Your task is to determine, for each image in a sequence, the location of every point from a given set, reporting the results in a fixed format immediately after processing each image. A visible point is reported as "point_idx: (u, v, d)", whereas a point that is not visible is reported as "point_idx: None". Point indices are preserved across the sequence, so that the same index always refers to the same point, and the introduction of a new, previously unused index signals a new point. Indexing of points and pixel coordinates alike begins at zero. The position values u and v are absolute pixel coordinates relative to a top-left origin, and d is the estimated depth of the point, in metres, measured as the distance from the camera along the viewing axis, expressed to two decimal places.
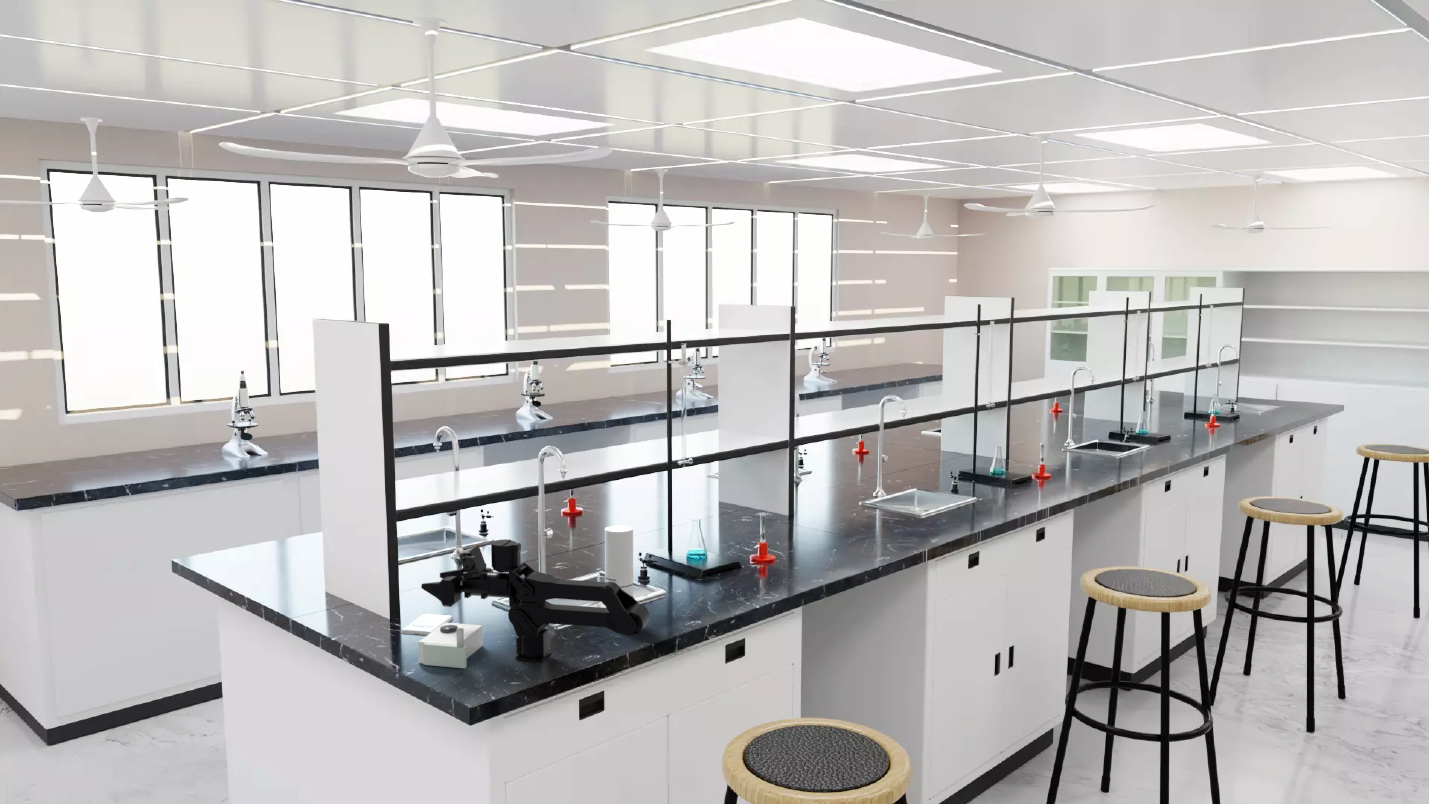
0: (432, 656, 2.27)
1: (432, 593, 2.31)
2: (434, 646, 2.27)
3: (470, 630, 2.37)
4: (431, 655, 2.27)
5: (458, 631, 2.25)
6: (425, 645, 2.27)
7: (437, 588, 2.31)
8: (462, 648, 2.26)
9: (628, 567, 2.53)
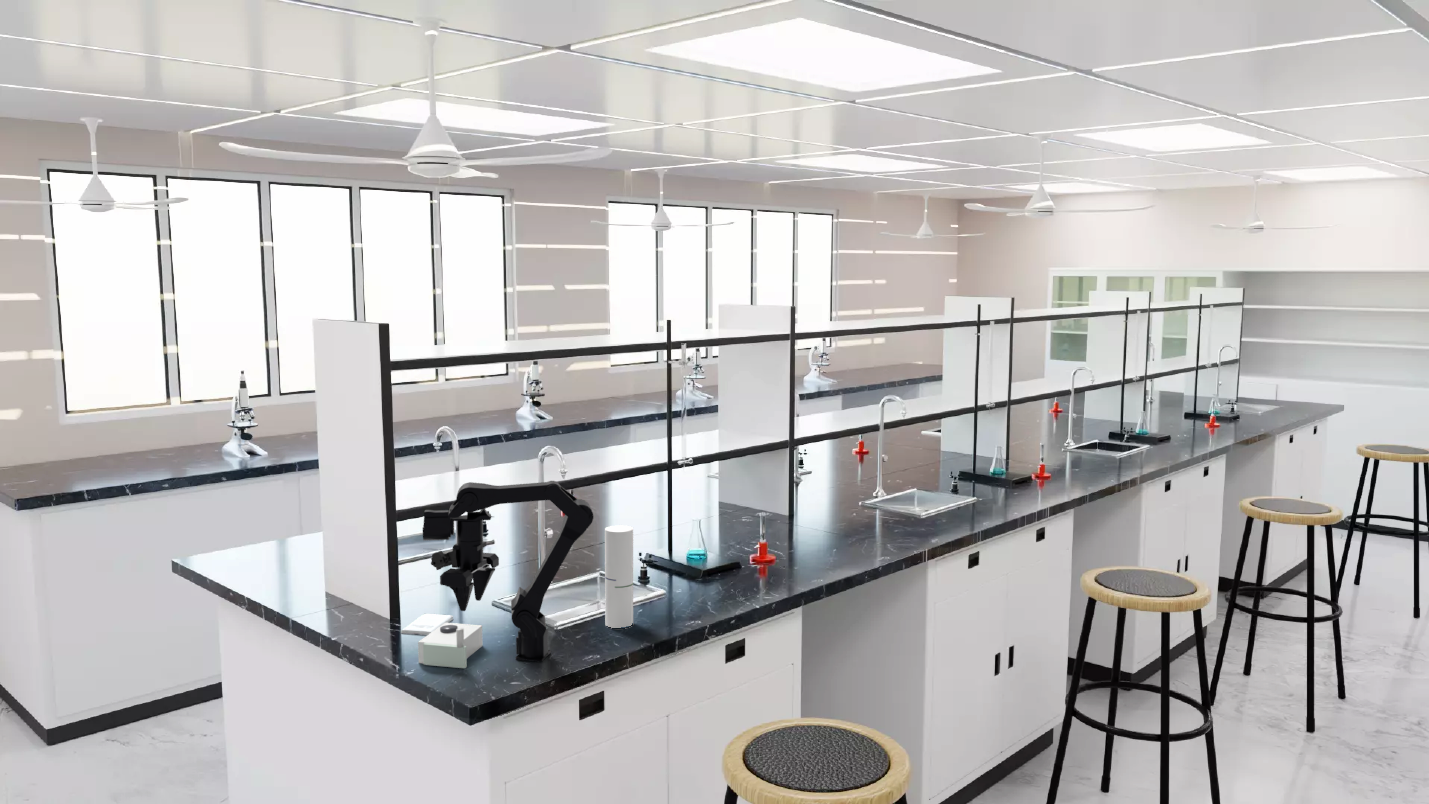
0: (432, 656, 2.27)
1: (465, 598, 2.25)
2: (434, 646, 2.27)
3: (470, 630, 2.37)
4: (431, 655, 2.27)
5: (458, 631, 2.25)
6: (425, 645, 2.27)
7: (460, 592, 2.25)
8: (462, 648, 2.26)
9: (628, 567, 2.53)
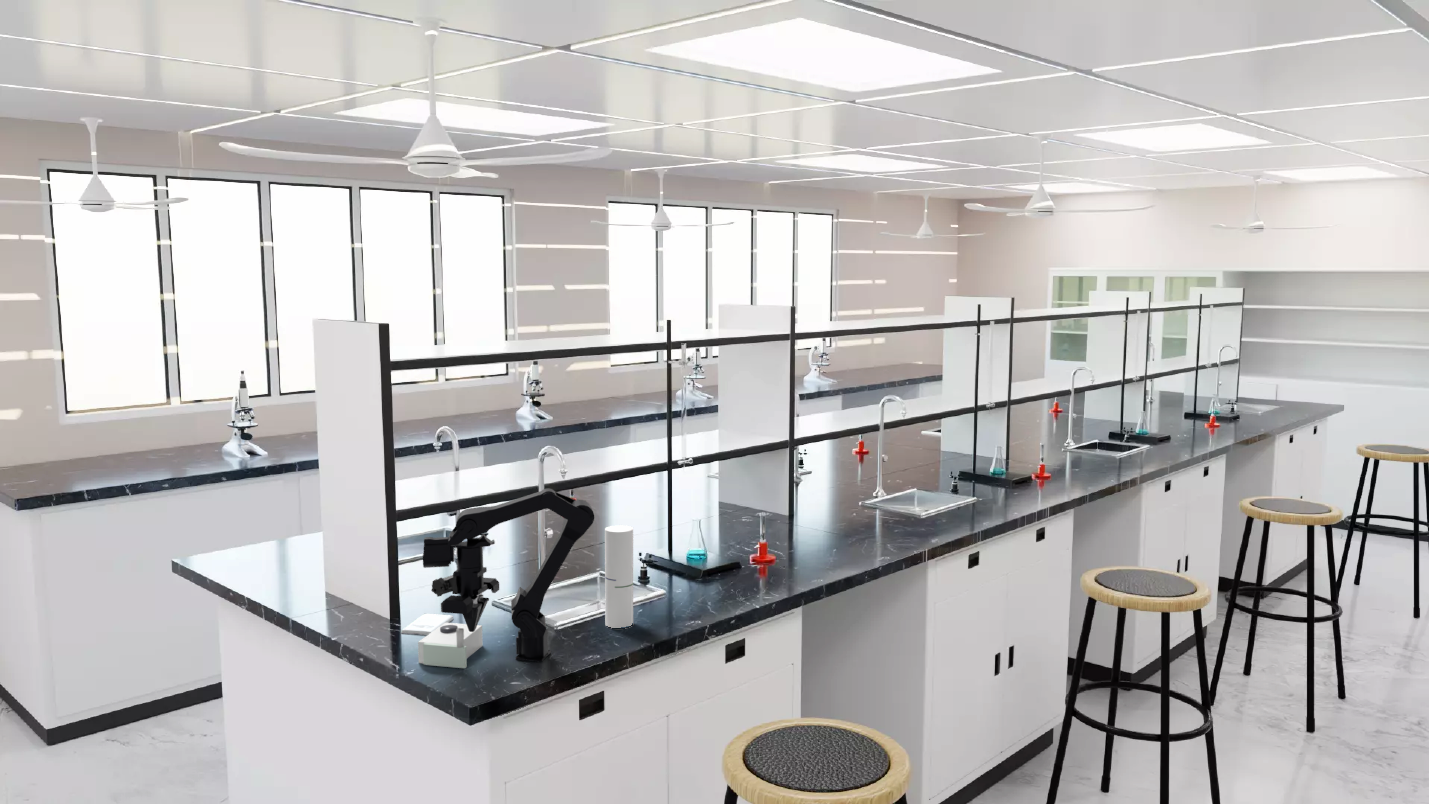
0: (432, 656, 2.27)
1: (474, 620, 2.29)
2: (434, 646, 2.27)
3: None
4: (431, 655, 2.27)
5: (458, 631, 2.25)
6: (425, 645, 2.27)
7: (468, 614, 2.29)
8: (462, 648, 2.26)
9: (628, 567, 2.53)
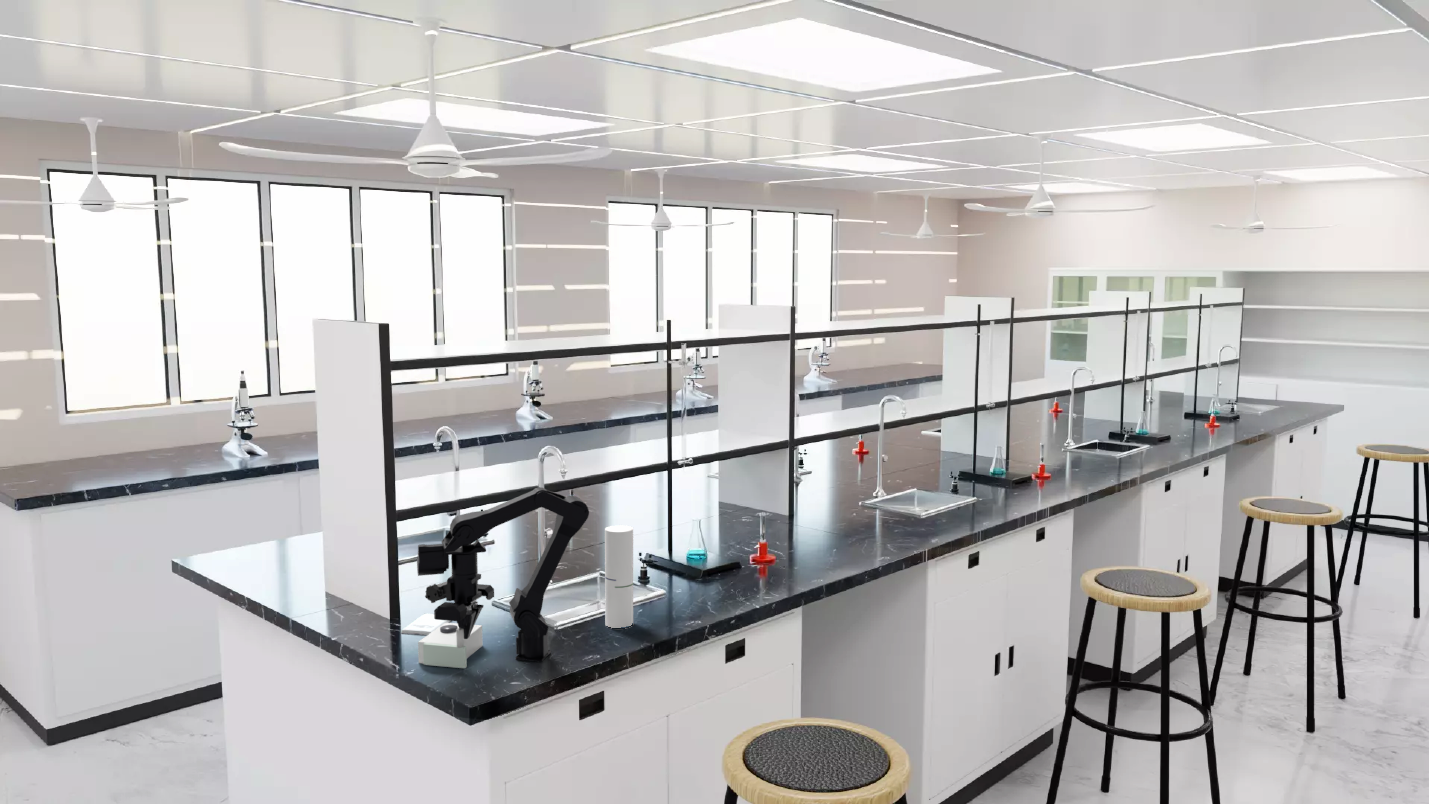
0: (432, 656, 2.27)
1: (468, 627, 2.27)
2: (434, 646, 2.27)
3: None
4: (431, 655, 2.27)
5: (458, 631, 2.25)
6: (425, 645, 2.27)
7: (462, 621, 2.27)
8: (462, 648, 2.26)
9: (628, 567, 2.53)
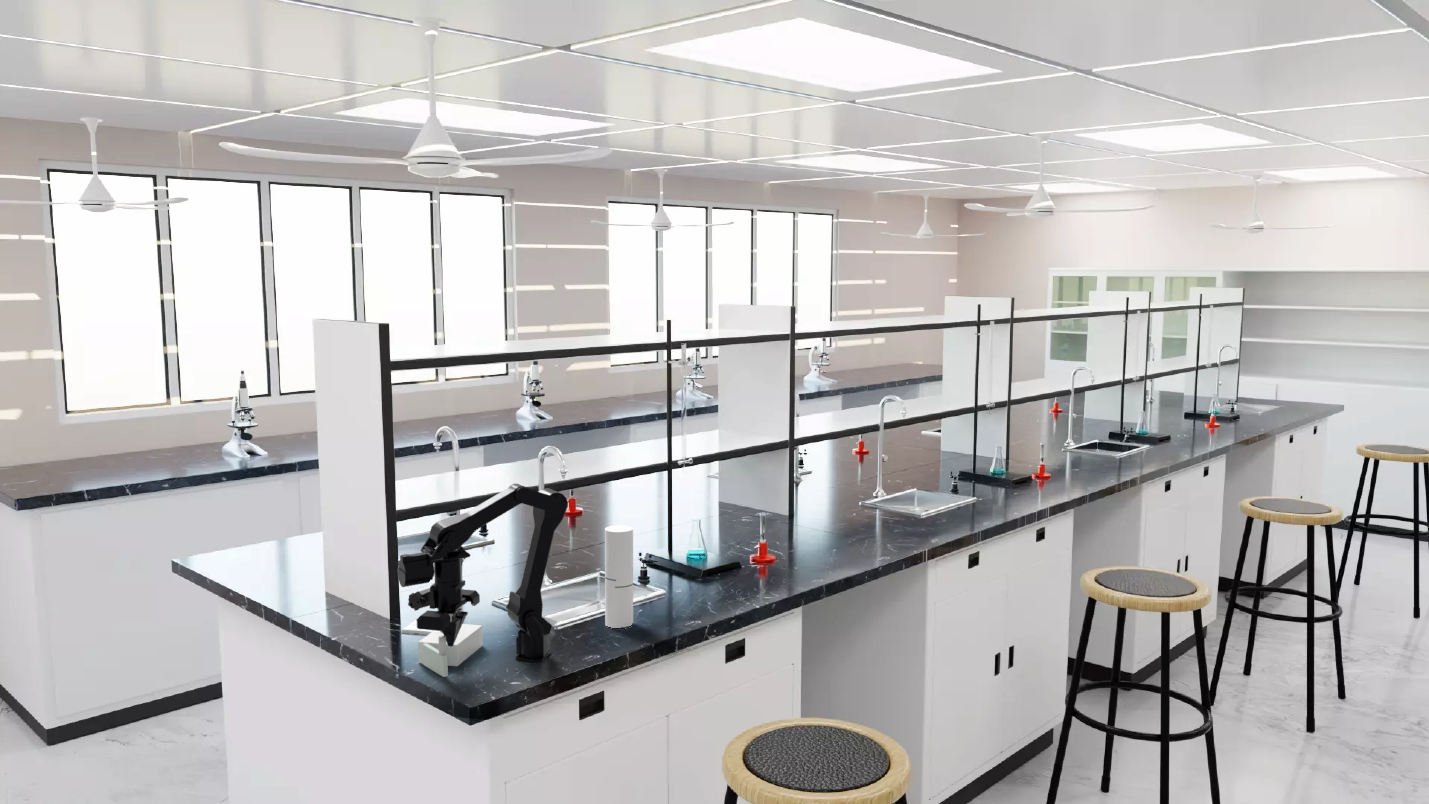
0: (427, 658, 2.26)
1: (452, 634, 2.22)
2: (427, 648, 2.26)
3: (470, 630, 2.37)
4: (426, 656, 2.27)
5: (439, 638, 2.21)
6: (423, 645, 2.27)
7: (447, 628, 2.22)
8: (442, 656, 2.21)
9: (628, 567, 2.53)
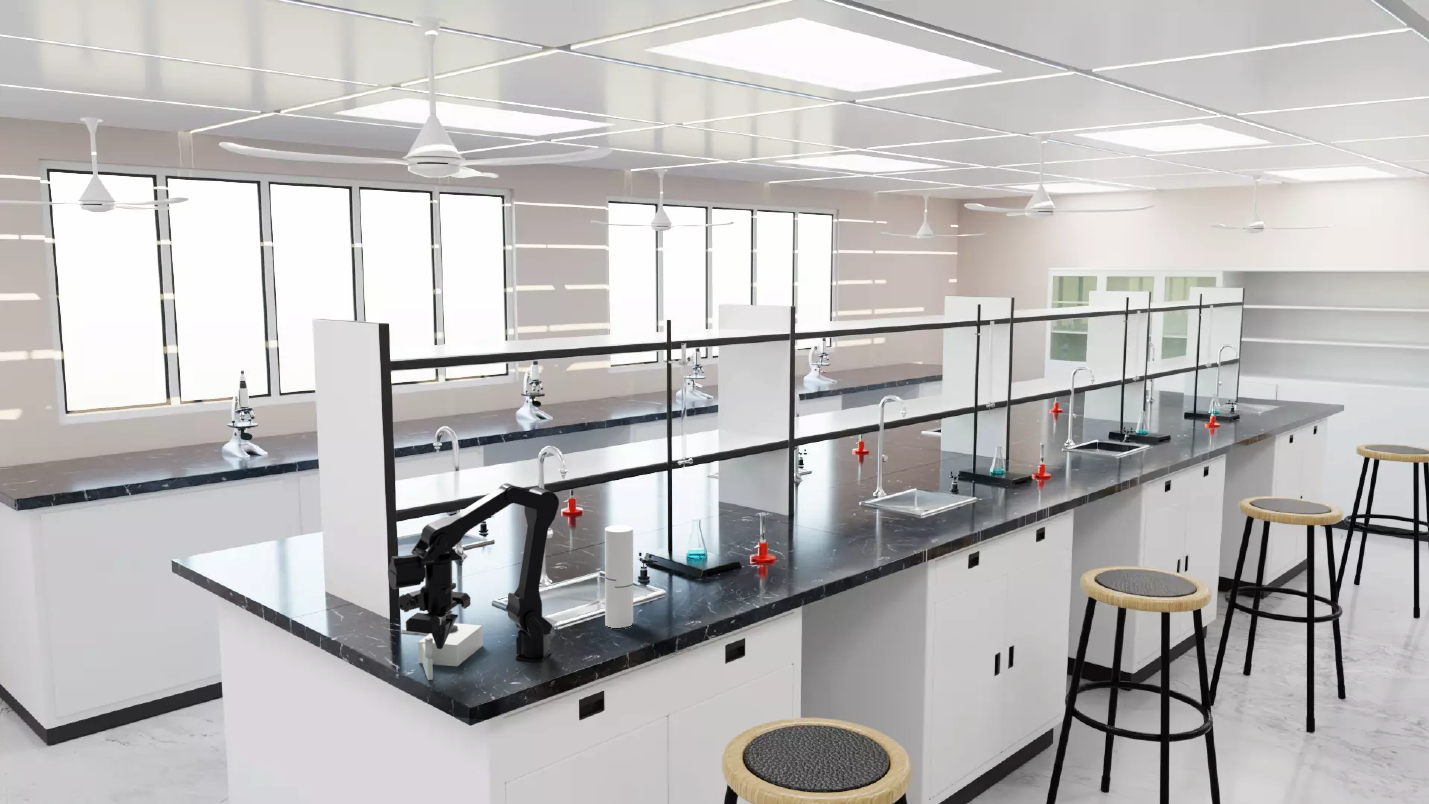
0: (423, 658, 2.26)
1: (442, 637, 2.20)
2: (423, 649, 2.25)
3: (470, 630, 2.37)
4: (423, 657, 2.26)
5: (425, 640, 2.19)
6: (422, 645, 2.27)
7: (436, 631, 2.20)
8: (427, 659, 2.19)
9: (628, 567, 2.53)
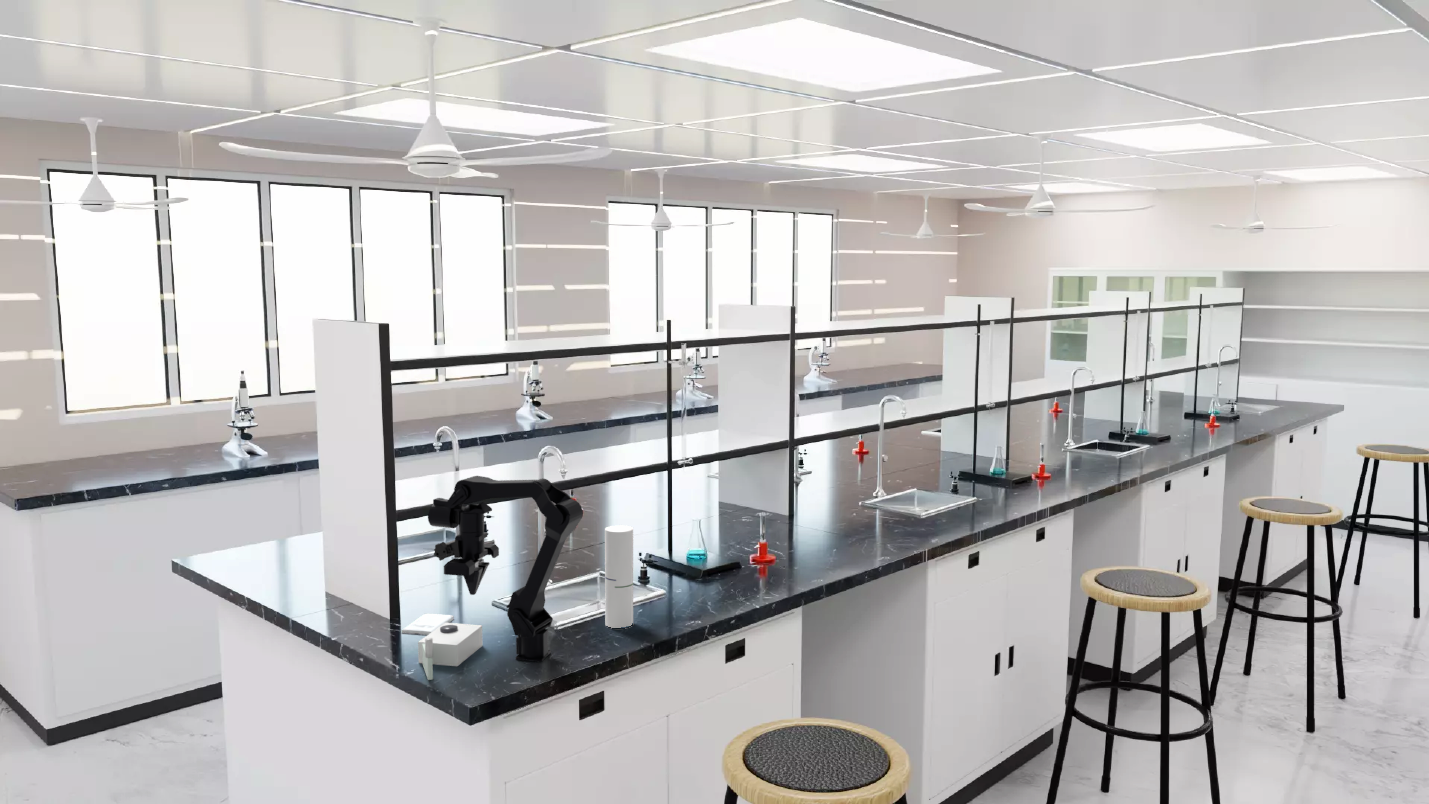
0: (423, 658, 2.26)
1: (475, 583, 2.37)
2: (423, 649, 2.25)
3: (470, 630, 2.37)
4: (423, 657, 2.26)
5: (425, 640, 2.19)
6: (422, 645, 2.27)
7: (469, 577, 2.37)
8: (427, 659, 2.19)
9: (628, 567, 2.53)
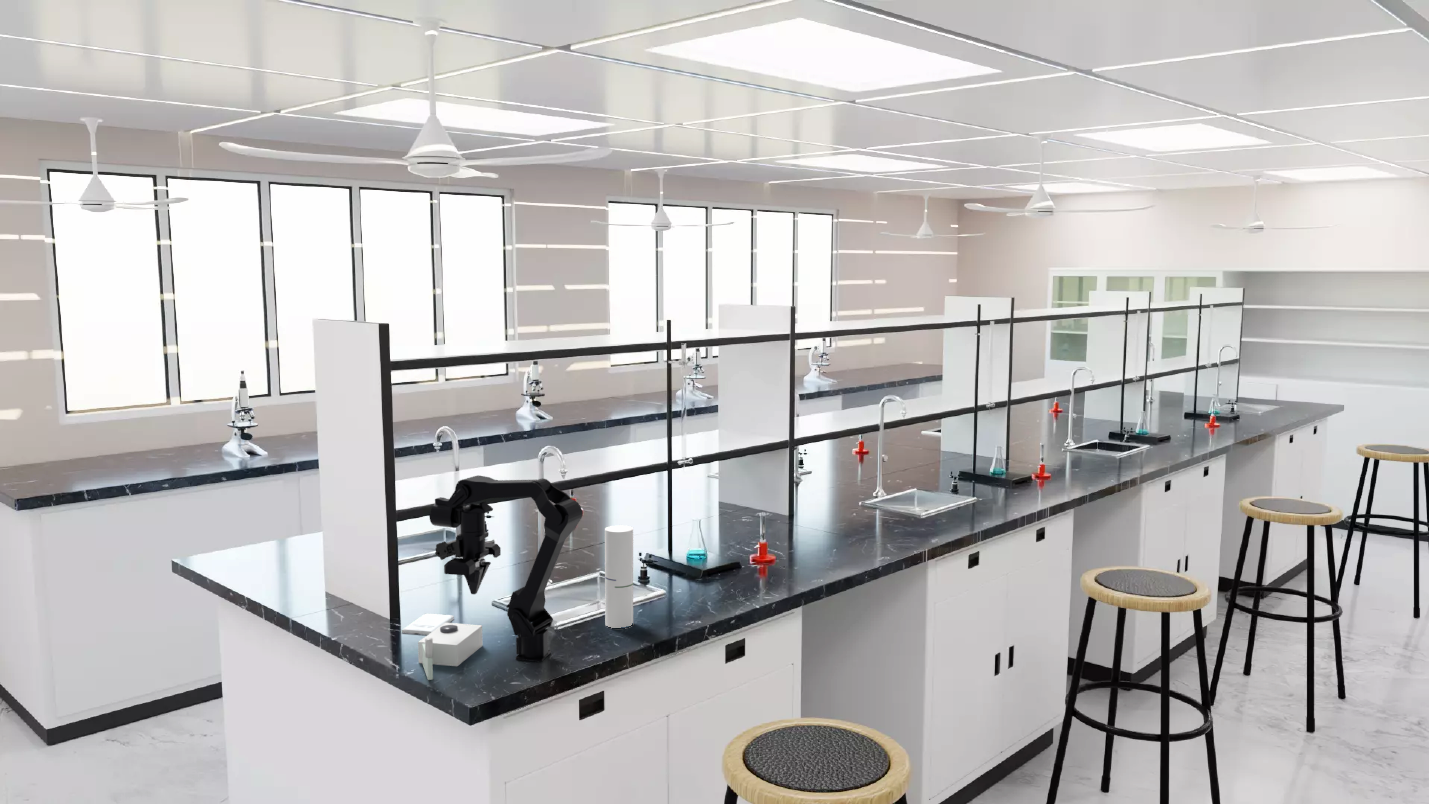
0: (423, 658, 2.26)
1: (476, 582, 2.37)
2: (423, 649, 2.25)
3: (470, 630, 2.37)
4: (423, 657, 2.26)
5: (425, 640, 2.19)
6: (422, 645, 2.27)
7: (470, 577, 2.37)
8: (427, 659, 2.19)
9: (628, 567, 2.53)
